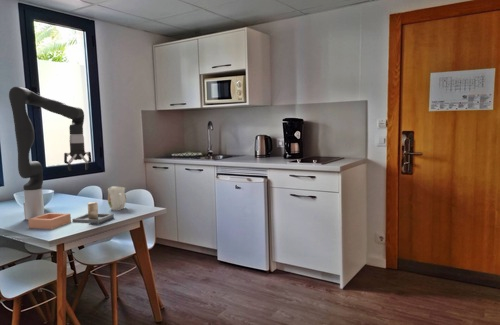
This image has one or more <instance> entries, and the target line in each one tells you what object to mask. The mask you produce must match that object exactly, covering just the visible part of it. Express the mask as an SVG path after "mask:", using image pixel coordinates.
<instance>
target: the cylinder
mask: <svg viewBox="0 0 500 325" xmlns="http://www.w3.org/2000/svg"><path fill="white" fill-rule="evenodd" d="M98 206H99V205H98V202H97V201H93V202H88V203H87V214H88V219H96V220H97V219H98V213H99V210H98V209H99V207H98Z"/></svg>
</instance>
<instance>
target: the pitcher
mask: <svg viewBox="0 0 500 325" xmlns="http://www.w3.org/2000/svg"><path fill="white" fill-rule="evenodd" d="M107 192H108V195H107V203H108V206H109V208H110V210H112V211H121V209H122V210H124V207H125V205H126V202H127V196H126V195H127V194H126V187H123V186H117V185H112V186H110V187H108V188H107Z"/></svg>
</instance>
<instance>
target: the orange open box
mask: <svg viewBox="0 0 500 325" xmlns="http://www.w3.org/2000/svg"><path fill="white" fill-rule="evenodd" d="M71 218H72V217H71V213H65V212H64V213H63V212H61V213H60V212H58V213H57V212H46V213H44V214H43V215H40V216H37V217H34V218H31V219H28V220H27V221H28V228H29V229H47V230H53V229H55V228H58V227H61V226H64V225H66V224H69V223H71V222H72V220H71Z"/></svg>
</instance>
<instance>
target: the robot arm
mask: <svg viewBox="0 0 500 325" xmlns="http://www.w3.org/2000/svg"><path fill="white" fill-rule="evenodd" d="M8 98H9V103H10V108H11V111H12V117H13V123H14V132H15V139H16V147H17V149H16V150H17V170H18V175H19V176H20V177H21V179H29V180H28V182H27V183H25V184H24V185H23V197H24V202H23V215H24V220H27V221H28V219H31V218H34V217H37V216H40V215H43V214H45V206H44V197H43V183H44V176H43V175H44V174H43V172H44V170H43V165H42V164H41V162H39V161H36V160H32V161H30V151H31V148H32V146H33V144H34V143H35V140H36V139H35V138H36V137H35V129H34V128H35V127H34V126H33V123H32V121H31V119H30V117H29V115H28V112H27V107H26V105H29V106H30V105H32V106H36V107H39V108H41V109H43V110H45V111H47V112H48V111H49V112H51V113H53V114H57V115H60V116H62V117H64V118H67V119H70V120H71V124H69V126H68V127H69V130H68V131H69V152H64V154H63V163H64V164H66V165H67V169H68V171H69V172H71V171H72V164H71V163H72V162H73V161H77V160H78V161H79V160H81V161H82V160H83V162H85V163H84V165H85V166H84V167H85V171H88V170H89V163H92V161H93V160H92V154H91V151H87V152H86V151H85V150H86V149H85V137H84V121H85V112H84V110H83V109H82V107H77V106H71V105H68V104H66V103H64V102H62V101H59V100H55V99H52V98H49V97H45V96H44V95H43V96H42V95H40V94H37V93H35V92H34V91H32V90H29V89H28V88H25V87H22V86H21V87H20V86H13V87H11V88H10V89H9V92H8ZM69 156H70V159H69V160H68V157H69ZM85 156H87V157H88V160H87V159H86V157H85Z"/></svg>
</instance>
